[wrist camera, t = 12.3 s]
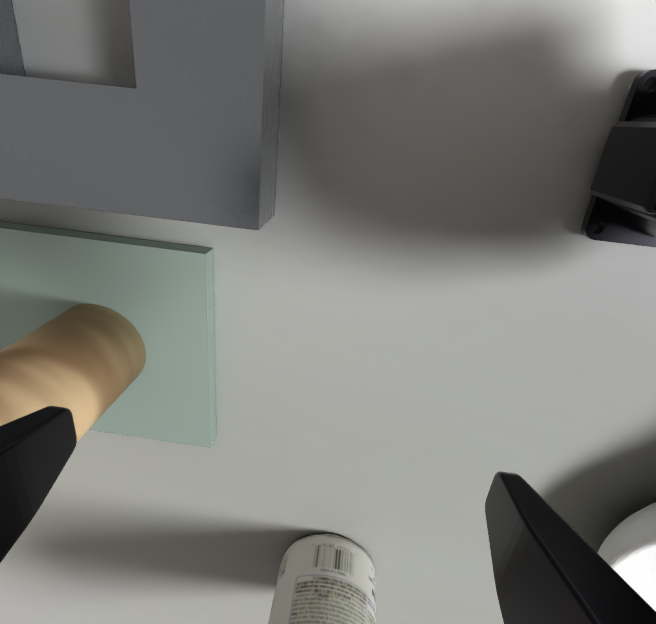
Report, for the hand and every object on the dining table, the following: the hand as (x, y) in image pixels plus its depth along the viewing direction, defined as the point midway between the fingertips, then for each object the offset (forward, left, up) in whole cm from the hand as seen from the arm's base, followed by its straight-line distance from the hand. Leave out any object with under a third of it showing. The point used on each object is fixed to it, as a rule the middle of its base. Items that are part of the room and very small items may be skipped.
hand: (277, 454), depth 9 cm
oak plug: (+12, +6, -12) cm, 18 cm away
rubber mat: (+12, +6, -13) cm, 19 cm away
